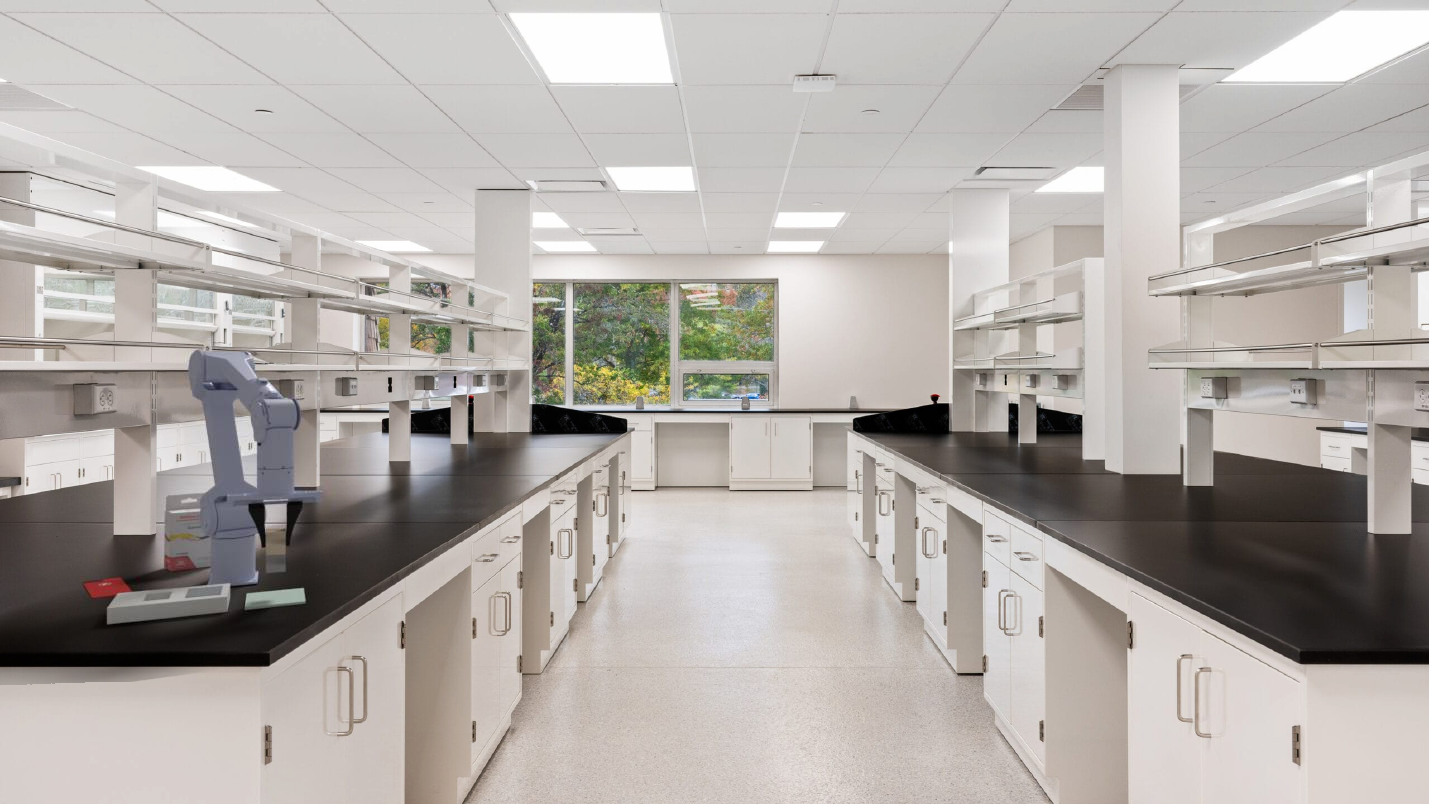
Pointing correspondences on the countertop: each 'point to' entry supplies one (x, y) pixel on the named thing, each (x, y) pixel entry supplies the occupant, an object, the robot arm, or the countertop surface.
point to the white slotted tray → (168, 603)
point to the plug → (275, 549)
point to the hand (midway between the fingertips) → (275, 545)
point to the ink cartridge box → (185, 534)
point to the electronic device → (106, 587)
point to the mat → (274, 598)
